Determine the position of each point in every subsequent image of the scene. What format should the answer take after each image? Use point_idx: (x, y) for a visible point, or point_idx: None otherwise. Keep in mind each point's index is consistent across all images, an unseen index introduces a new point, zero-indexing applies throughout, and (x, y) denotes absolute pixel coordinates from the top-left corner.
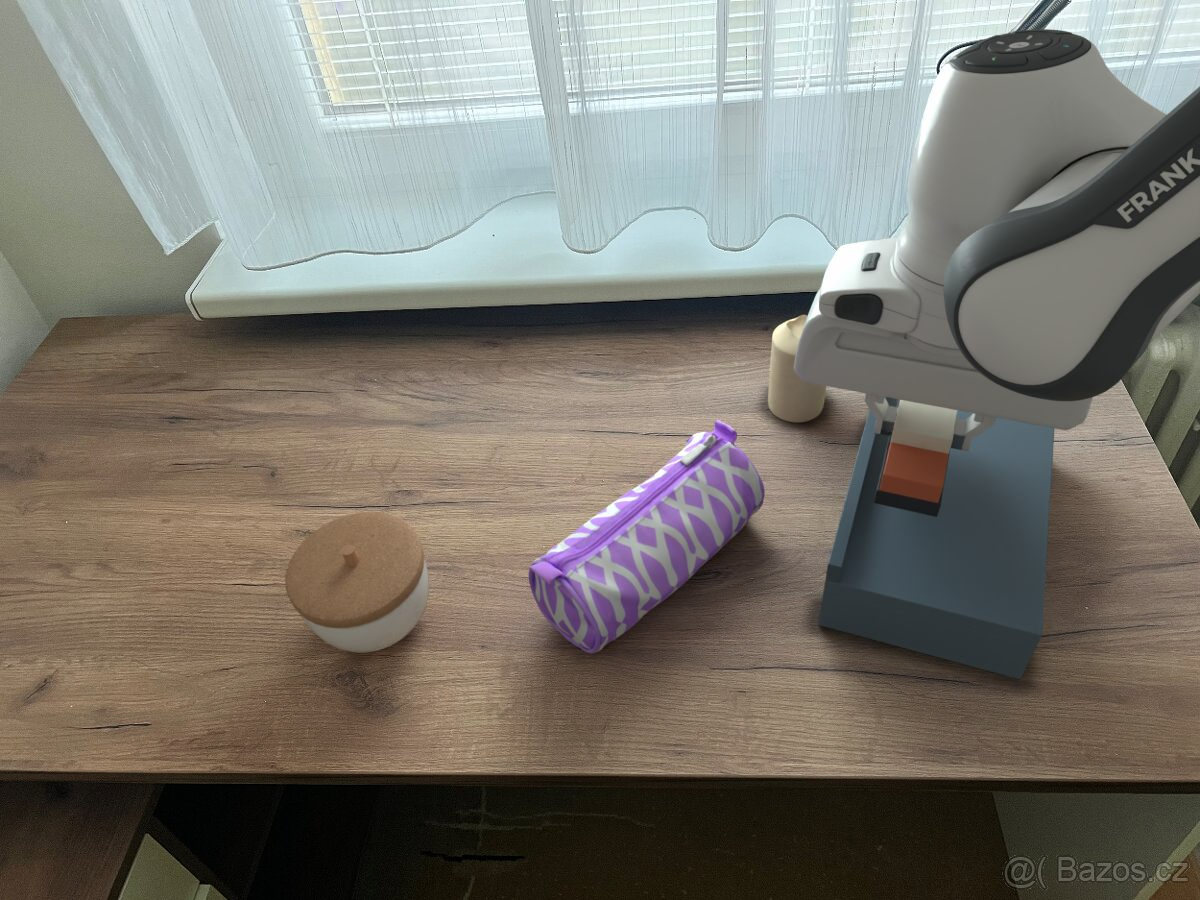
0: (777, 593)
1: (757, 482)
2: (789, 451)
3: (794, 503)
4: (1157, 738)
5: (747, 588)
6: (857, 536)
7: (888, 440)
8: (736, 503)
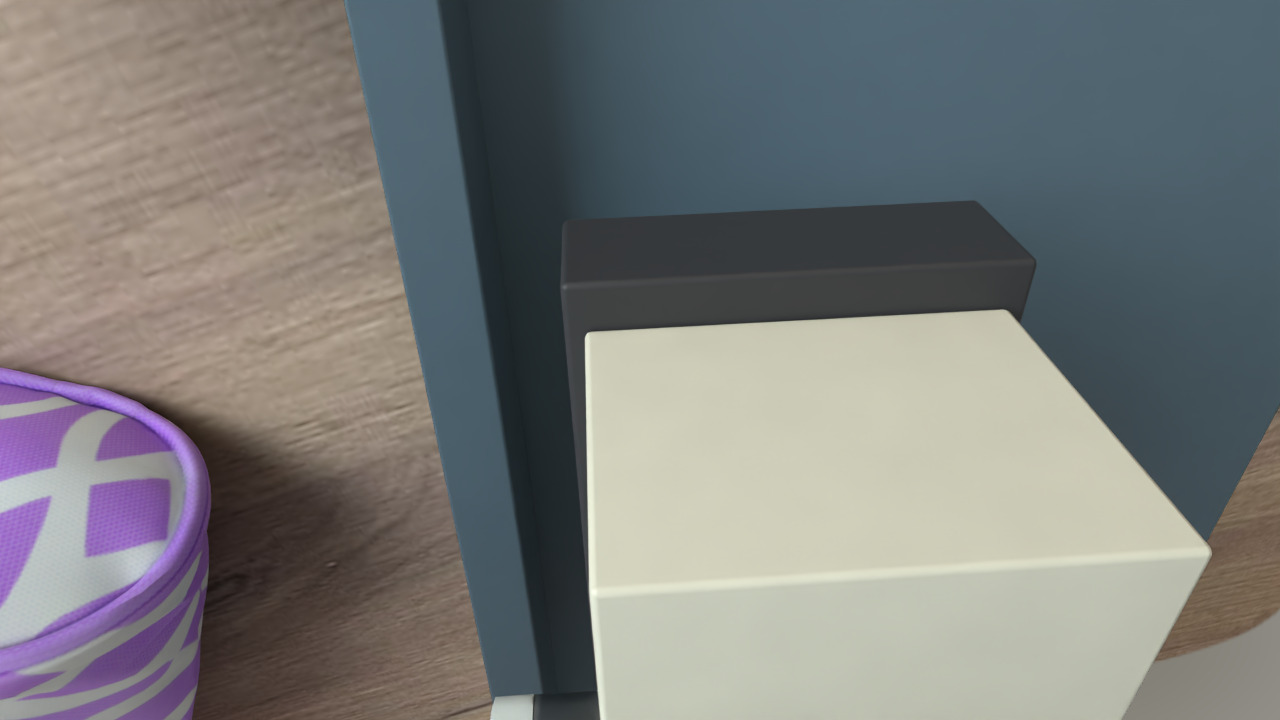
0: (415, 577)
1: (136, 624)
2: (117, 17)
3: (302, 296)
4: (1239, 599)
5: (337, 589)
6: (579, 684)
7: (596, 685)
8: (134, 686)
